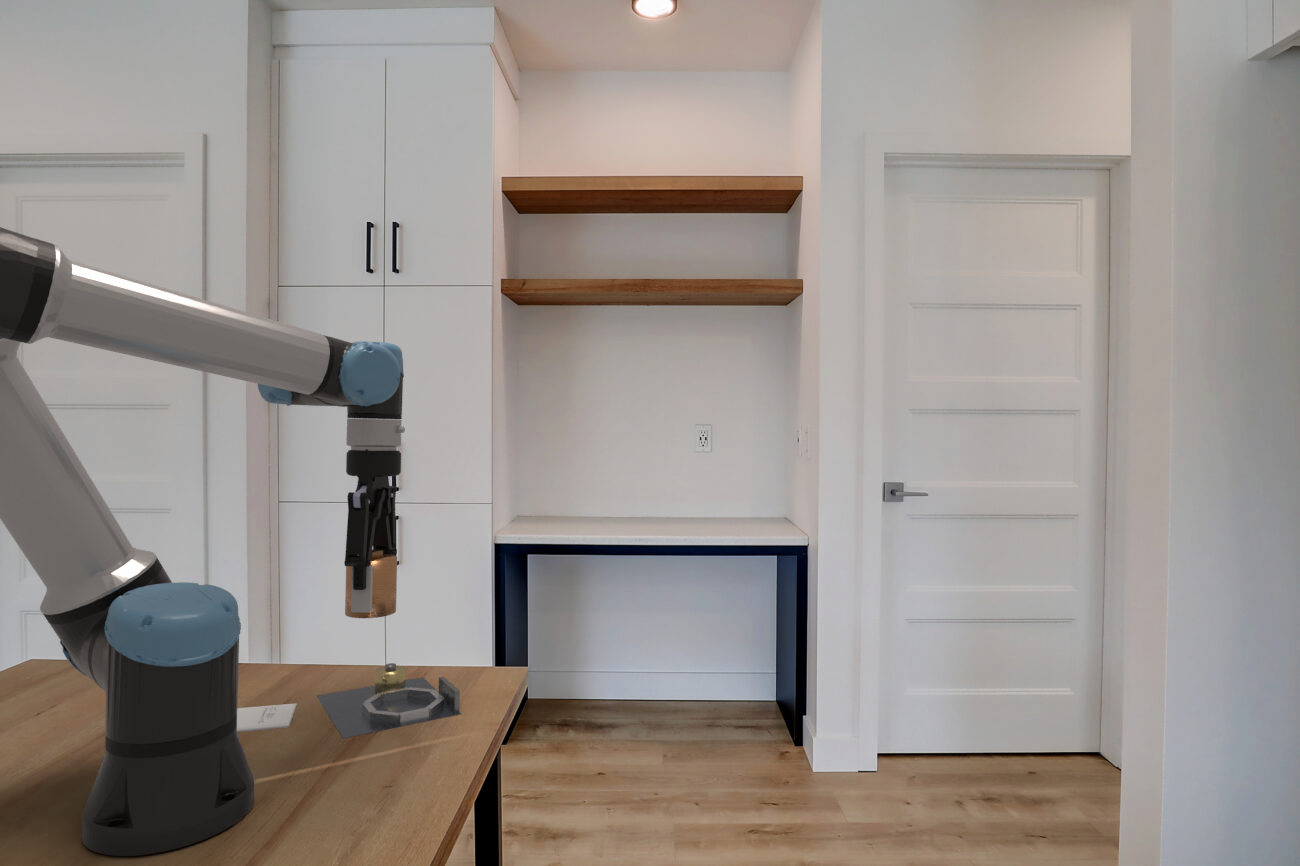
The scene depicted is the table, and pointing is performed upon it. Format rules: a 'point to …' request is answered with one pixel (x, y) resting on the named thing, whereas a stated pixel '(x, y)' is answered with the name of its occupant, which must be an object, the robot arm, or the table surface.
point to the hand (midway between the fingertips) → (370, 605)
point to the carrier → (390, 703)
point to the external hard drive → (265, 717)
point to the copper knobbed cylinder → (377, 586)
